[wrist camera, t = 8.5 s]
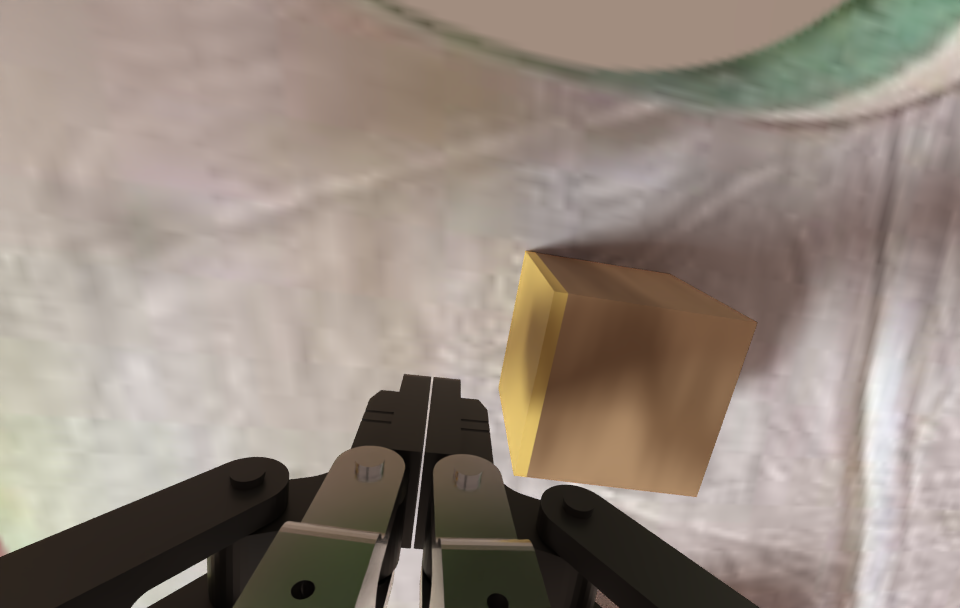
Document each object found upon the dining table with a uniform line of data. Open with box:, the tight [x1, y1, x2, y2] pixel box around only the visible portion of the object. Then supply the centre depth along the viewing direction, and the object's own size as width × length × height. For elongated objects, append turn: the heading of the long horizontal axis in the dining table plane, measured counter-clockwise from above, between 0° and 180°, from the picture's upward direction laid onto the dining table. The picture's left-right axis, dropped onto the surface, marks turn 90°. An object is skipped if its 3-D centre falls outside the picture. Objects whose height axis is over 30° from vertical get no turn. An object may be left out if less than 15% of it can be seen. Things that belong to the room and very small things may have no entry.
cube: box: [499, 251, 757, 497], centre depth 17 cm, size 6×6×6 cm
